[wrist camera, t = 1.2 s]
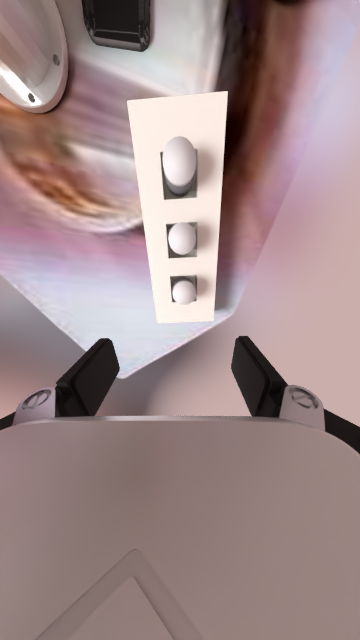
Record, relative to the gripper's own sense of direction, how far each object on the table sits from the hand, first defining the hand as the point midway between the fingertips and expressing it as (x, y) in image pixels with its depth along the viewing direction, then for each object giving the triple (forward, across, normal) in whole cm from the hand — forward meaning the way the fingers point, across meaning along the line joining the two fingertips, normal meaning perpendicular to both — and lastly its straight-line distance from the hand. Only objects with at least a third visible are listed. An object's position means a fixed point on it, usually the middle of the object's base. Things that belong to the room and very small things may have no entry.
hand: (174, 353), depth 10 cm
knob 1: (+19, -1, -17) cm, 25 cm away
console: (+23, -1, -9) cm, 24 cm away
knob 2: (+19, -1, -1) cm, 19 cm away
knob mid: (+19, -1, -9) cm, 21 cm away
